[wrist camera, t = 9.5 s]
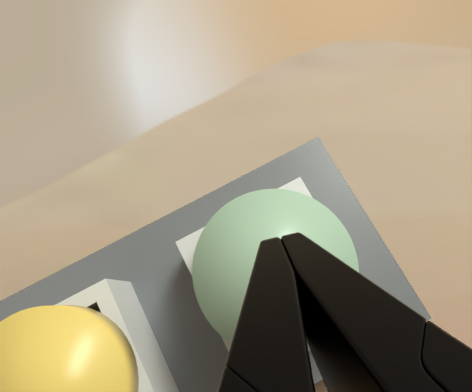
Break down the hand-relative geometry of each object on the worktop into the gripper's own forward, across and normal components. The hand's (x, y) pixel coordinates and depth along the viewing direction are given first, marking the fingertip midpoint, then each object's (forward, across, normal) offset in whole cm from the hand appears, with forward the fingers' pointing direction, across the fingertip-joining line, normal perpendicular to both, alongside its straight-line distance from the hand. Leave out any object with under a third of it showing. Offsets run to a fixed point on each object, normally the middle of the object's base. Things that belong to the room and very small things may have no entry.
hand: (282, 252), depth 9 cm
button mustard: (+5, +8, +8) cm, 12 cm away
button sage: (+6, 0, +6) cm, 9 cm away
